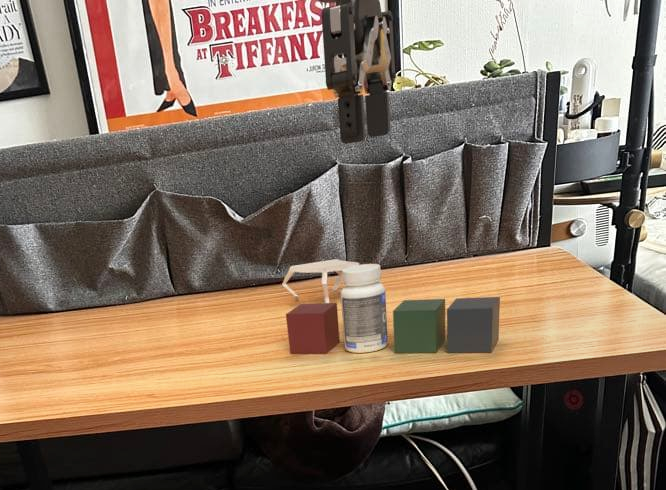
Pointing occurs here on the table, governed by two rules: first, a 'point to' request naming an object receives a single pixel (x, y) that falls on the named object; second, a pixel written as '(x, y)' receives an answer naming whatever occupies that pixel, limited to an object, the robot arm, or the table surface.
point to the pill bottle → (363, 309)
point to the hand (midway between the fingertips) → (366, 139)
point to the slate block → (473, 325)
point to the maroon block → (313, 328)
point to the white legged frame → (324, 268)
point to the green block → (419, 326)
